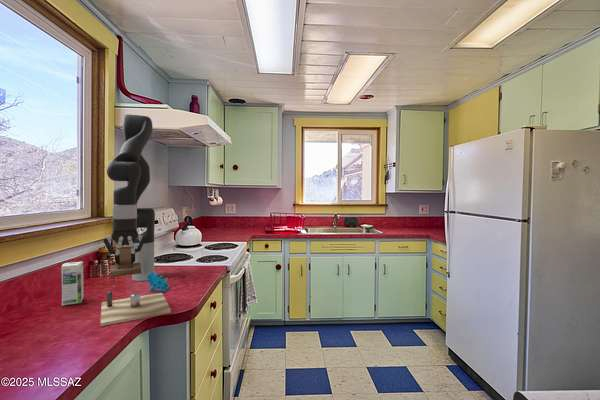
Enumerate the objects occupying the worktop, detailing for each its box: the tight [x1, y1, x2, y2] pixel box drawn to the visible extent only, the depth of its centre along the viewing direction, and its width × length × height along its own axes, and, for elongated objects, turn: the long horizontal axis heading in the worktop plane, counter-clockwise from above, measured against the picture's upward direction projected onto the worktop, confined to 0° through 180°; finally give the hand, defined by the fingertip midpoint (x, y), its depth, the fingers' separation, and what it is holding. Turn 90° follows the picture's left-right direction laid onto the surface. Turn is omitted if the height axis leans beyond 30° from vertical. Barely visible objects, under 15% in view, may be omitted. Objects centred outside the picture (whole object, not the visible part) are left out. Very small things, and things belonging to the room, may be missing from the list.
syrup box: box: [61, 261, 84, 306], centre depth 110 cm, size 6×6×14 cm
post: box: [129, 292, 141, 308], centre depth 105 cm, size 3×3×4 cm
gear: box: [146, 272, 170, 293], centre depth 124 cm, size 11×6×10 cm
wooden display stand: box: [109, 245, 141, 278], centre depth 105 cm, size 14×9×8 cm, turn 31°
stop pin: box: [106, 290, 113, 307], centre depth 104 cm, size 2×2×5 cm
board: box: [100, 292, 172, 327], centre depth 105 cm, size 20×20×1 cm
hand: (125, 264), depth 108 cm, fingers closed on wooden display stand, 3 cm apart
